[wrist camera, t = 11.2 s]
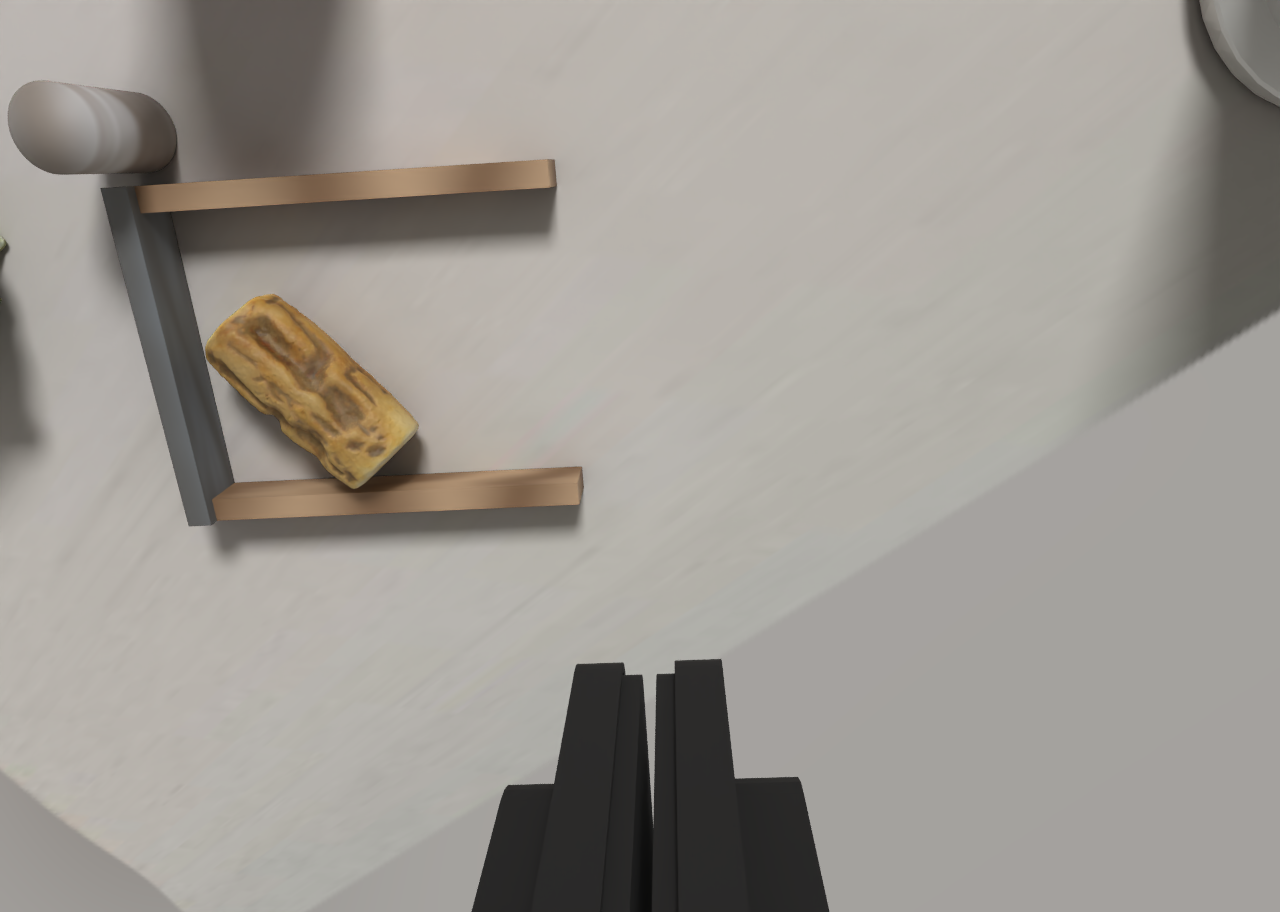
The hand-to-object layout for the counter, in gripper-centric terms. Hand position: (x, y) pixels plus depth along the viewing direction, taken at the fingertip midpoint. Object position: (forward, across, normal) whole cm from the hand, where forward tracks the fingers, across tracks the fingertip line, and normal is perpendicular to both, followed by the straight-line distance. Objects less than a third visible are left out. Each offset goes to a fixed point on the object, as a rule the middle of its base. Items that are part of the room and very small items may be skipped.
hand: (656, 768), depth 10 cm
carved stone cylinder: (+28, +15, +2) cm, 31 cm away
